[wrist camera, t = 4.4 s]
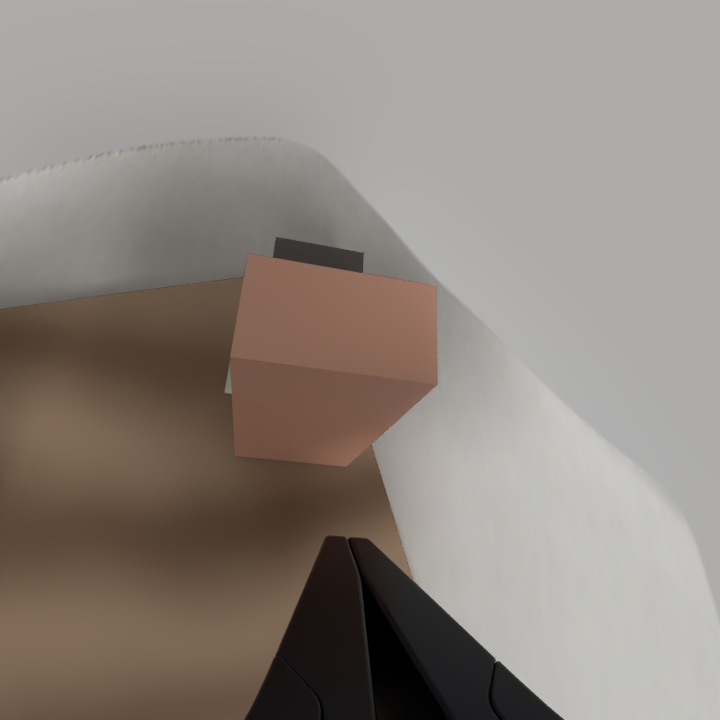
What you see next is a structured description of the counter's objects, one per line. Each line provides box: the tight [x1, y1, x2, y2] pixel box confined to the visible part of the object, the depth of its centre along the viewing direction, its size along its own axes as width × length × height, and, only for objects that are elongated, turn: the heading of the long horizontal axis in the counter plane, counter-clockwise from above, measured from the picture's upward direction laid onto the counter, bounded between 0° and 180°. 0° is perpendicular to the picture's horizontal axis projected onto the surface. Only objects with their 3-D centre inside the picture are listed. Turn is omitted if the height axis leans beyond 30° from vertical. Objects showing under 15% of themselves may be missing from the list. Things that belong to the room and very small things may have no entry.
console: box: [0, 237, 412, 720], centre depth 15 cm, size 19×25×4 cm
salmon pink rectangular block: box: [230, 253, 437, 467], centre depth 15 cm, size 2×4×10 cm, turn 87°
